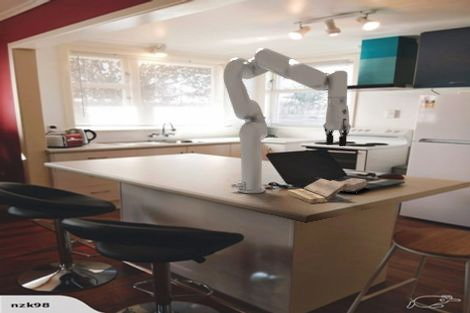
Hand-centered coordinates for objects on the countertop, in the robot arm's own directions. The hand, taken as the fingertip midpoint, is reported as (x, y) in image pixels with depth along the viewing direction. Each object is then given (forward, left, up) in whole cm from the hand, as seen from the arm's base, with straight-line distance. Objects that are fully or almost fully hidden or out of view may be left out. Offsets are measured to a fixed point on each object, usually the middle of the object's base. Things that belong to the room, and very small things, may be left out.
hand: (336, 145), depth 144 cm
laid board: (-11, +5, -22) cm, 25 cm away
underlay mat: (-5, +5, -22) cm, 23 cm away
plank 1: (-2, +9, -20) cm, 22 cm away
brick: (+17, +11, -23) cm, 30 cm away
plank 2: (-2, 0, -19) cm, 19 cm away
